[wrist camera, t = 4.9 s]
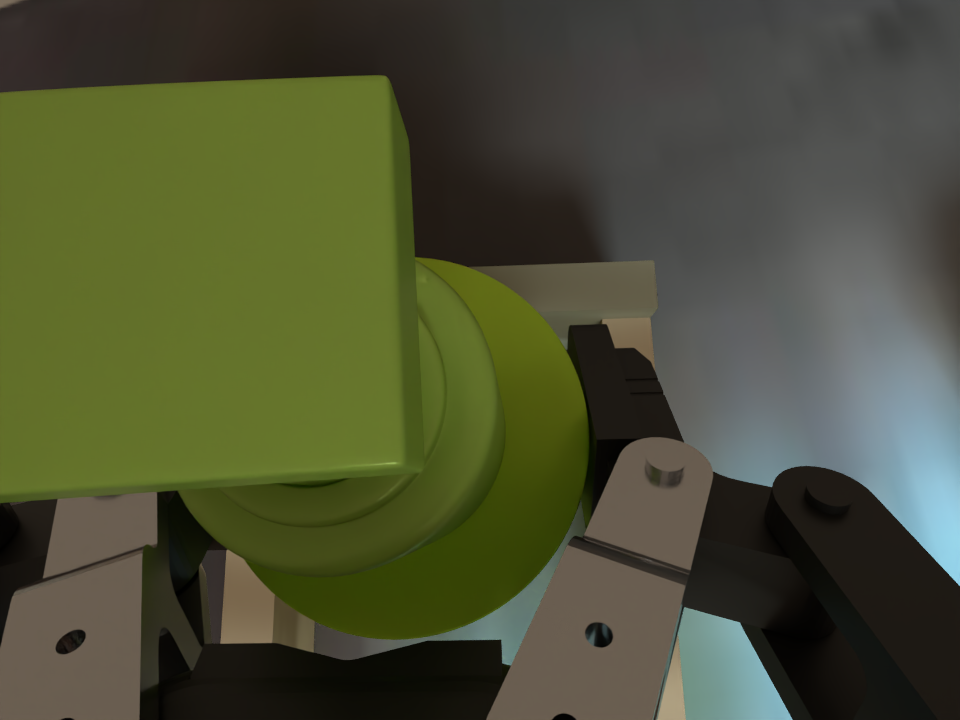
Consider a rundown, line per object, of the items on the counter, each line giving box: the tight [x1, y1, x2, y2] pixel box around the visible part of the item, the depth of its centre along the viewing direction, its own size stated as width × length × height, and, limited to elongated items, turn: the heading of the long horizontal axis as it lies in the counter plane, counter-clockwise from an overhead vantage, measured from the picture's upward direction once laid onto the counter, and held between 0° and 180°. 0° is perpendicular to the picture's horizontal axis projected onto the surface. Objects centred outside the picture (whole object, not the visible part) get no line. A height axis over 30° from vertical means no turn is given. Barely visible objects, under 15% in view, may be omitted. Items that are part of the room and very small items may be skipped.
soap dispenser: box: [0, 75, 589, 640], centre depth 12 cm, size 6×7×20 cm
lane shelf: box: [221, 260, 686, 720], centre depth 19 cm, size 18×13×5 cm
